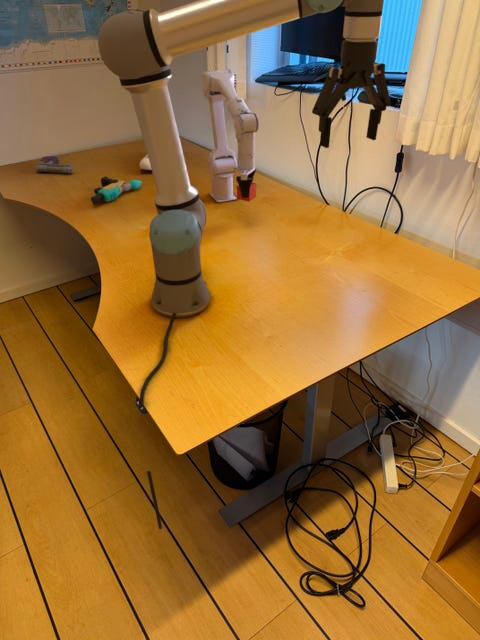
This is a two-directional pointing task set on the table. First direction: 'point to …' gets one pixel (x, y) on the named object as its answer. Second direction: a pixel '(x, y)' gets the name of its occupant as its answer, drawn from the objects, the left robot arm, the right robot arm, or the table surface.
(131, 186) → the toy gun
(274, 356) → the table surface
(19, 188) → the table surface
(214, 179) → the right robot arm
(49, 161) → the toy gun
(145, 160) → the sneaker
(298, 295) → the table surface
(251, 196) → the block
